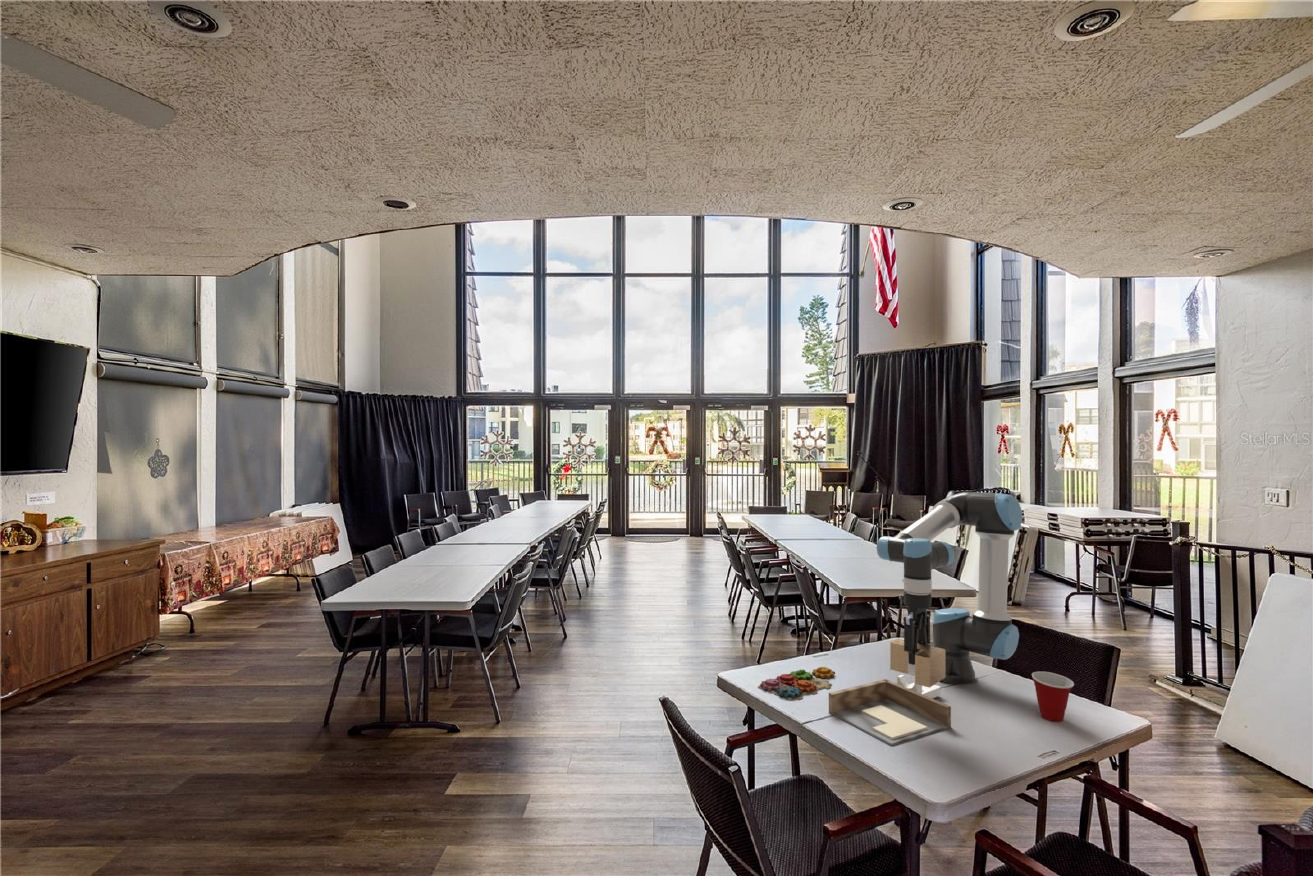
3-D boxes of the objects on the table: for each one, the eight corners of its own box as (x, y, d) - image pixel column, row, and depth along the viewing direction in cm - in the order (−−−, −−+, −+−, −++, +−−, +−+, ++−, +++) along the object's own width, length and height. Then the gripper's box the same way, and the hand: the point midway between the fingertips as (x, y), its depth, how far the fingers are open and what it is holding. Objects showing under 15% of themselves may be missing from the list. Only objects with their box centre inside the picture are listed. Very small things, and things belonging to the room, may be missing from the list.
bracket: (917, 707, 200) (917, 683, 200) (897, 700, 206) (897, 676, 206) (940, 698, 207) (940, 674, 208) (920, 691, 213) (920, 668, 213)
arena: (885, 698, 207) (885, 679, 207) (950, 727, 186) (950, 706, 186) (828, 712, 196) (828, 692, 196) (891, 745, 174) (891, 723, 174)
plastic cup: (1063, 729, 184) (1063, 687, 184) (1024, 716, 193) (1024, 676, 193) (1081, 720, 190) (1081, 679, 190) (1042, 707, 199) (1042, 668, 199)
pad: (880, 707, 198) (880, 705, 198) (927, 729, 183) (927, 727, 183) (846, 716, 192) (846, 714, 192) (892, 739, 177) (892, 737, 177)
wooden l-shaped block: (945, 677, 184) (945, 649, 185) (929, 687, 177) (929, 658, 177) (897, 665, 194) (897, 638, 194) (880, 674, 187) (880, 646, 187)
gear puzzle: (814, 668, 235) (814, 657, 235) (852, 681, 222) (852, 669, 222) (755, 689, 216) (755, 676, 216) (792, 704, 203) (792, 691, 203)
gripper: (917, 585, 197) (917, 662, 197) (890, 595, 184) (890, 677, 184) (942, 589, 192) (942, 668, 191) (916, 599, 179) (916, 684, 179)
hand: (917, 672), depth 188 cm, fingers closed on wooden l-shaped block, 5 cm apart
